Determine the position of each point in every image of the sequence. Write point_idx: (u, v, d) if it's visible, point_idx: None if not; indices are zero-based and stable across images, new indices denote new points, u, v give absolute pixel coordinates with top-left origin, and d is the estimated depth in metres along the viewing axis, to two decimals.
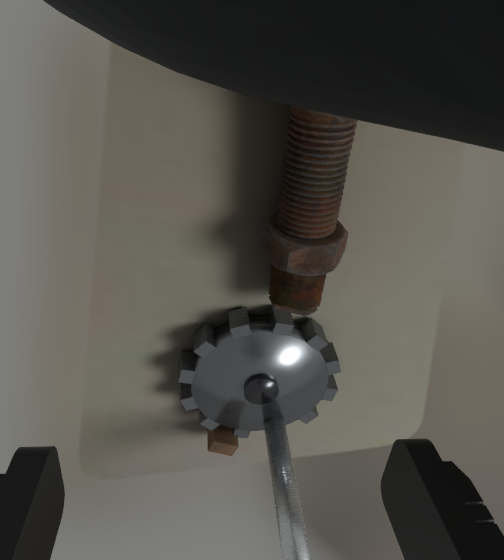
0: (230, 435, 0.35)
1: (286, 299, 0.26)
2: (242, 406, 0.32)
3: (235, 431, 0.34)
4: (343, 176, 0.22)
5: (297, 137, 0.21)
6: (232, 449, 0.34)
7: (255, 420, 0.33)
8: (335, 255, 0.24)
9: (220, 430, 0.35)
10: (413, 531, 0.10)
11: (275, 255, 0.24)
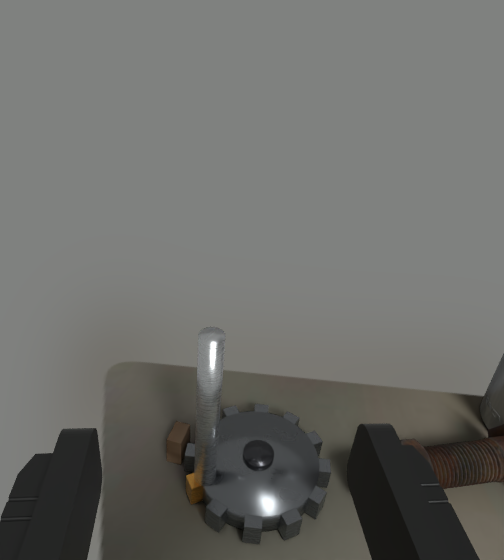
0: (183, 445, 0.36)
1: None
2: (230, 446, 0.36)
3: (195, 444, 0.36)
4: (470, 470, 0.35)
5: (471, 441, 0.37)
6: (176, 439, 0.35)
7: None
8: None
9: (187, 439, 0.37)
10: (372, 512, 0.10)
11: None
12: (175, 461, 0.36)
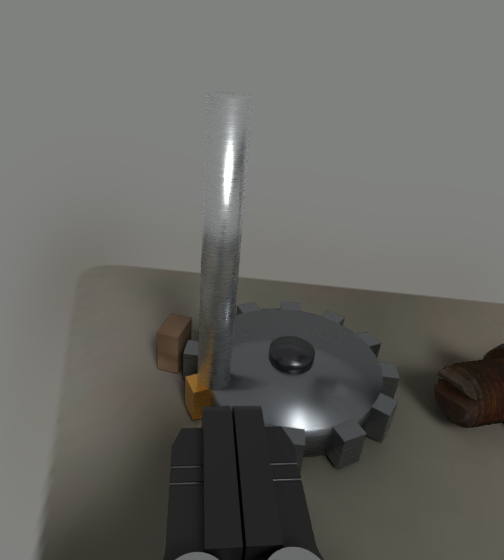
0: (182, 343, 0.25)
1: None
2: (249, 345, 0.25)
3: (198, 342, 0.24)
4: None
5: None
6: (171, 332, 0.24)
7: None
8: None
9: (187, 338, 0.26)
10: None
11: None
12: (170, 368, 0.25)
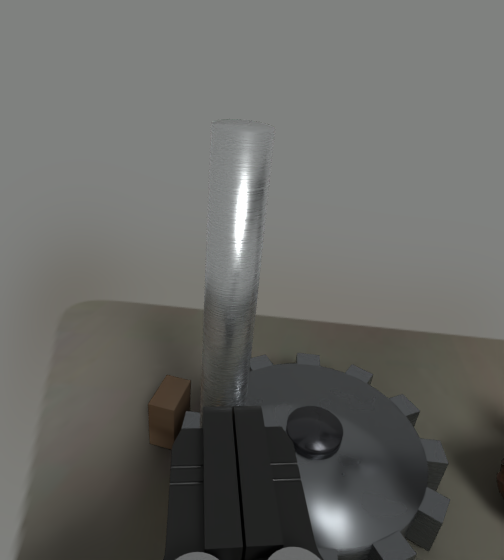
0: (179, 414, 0.20)
1: None
2: None
3: (199, 414, 0.20)
4: None
5: None
6: (166, 403, 0.20)
7: None
8: None
9: (185, 405, 0.21)
10: None
11: None
12: (164, 444, 0.21)
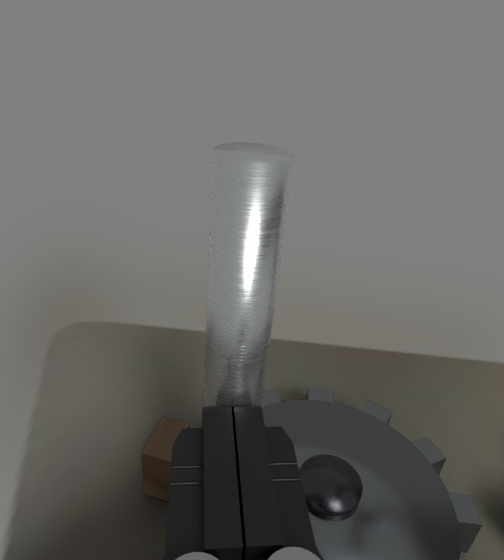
0: None
1: None
2: None
3: None
4: None
5: None
6: (162, 452, 0.17)
7: None
8: None
9: None
10: None
11: None
12: (160, 495, 0.18)
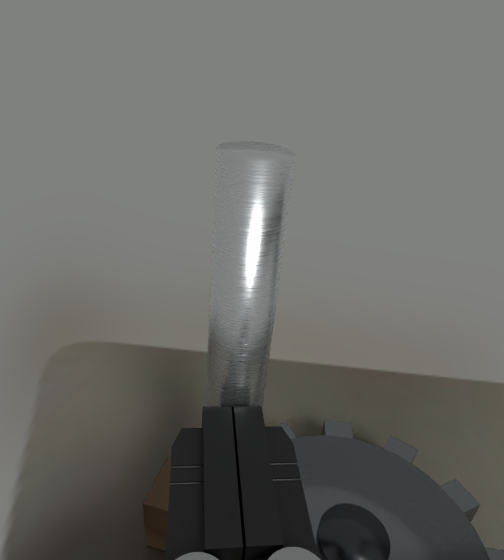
0: None
1: None
2: (304, 494, 0.17)
3: None
4: None
5: None
6: (166, 502, 0.16)
7: None
8: None
9: None
10: None
11: None
12: (164, 547, 0.17)
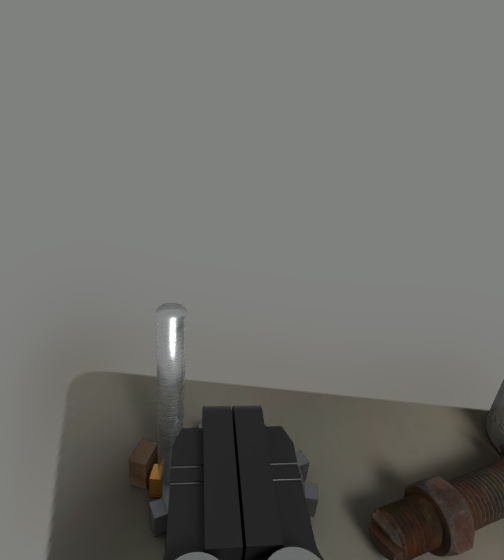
0: (149, 466, 0.31)
1: (394, 508, 0.29)
2: None
3: None
4: (503, 502, 0.30)
5: (492, 464, 0.32)
6: (140, 459, 0.31)
7: None
8: (464, 510, 0.28)
9: (154, 459, 0.32)
10: None
11: (421, 481, 0.30)
12: (140, 485, 0.31)
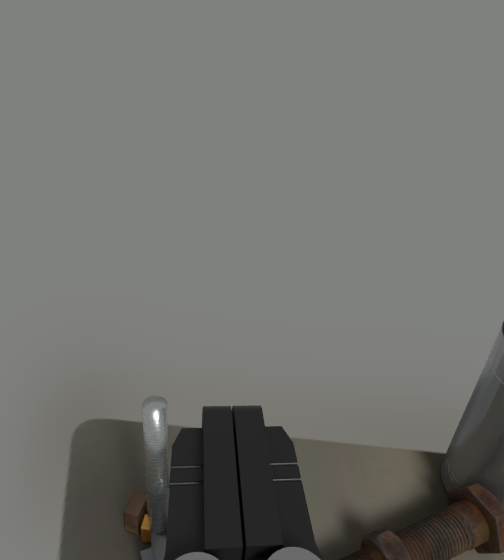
0: (141, 516, 0.37)
1: None
2: None
3: None
4: (444, 550, 0.35)
5: (437, 513, 0.38)
6: (133, 511, 0.36)
7: None
8: None
9: (145, 509, 0.38)
10: None
11: (374, 534, 0.35)
12: (133, 532, 0.37)
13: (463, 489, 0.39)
